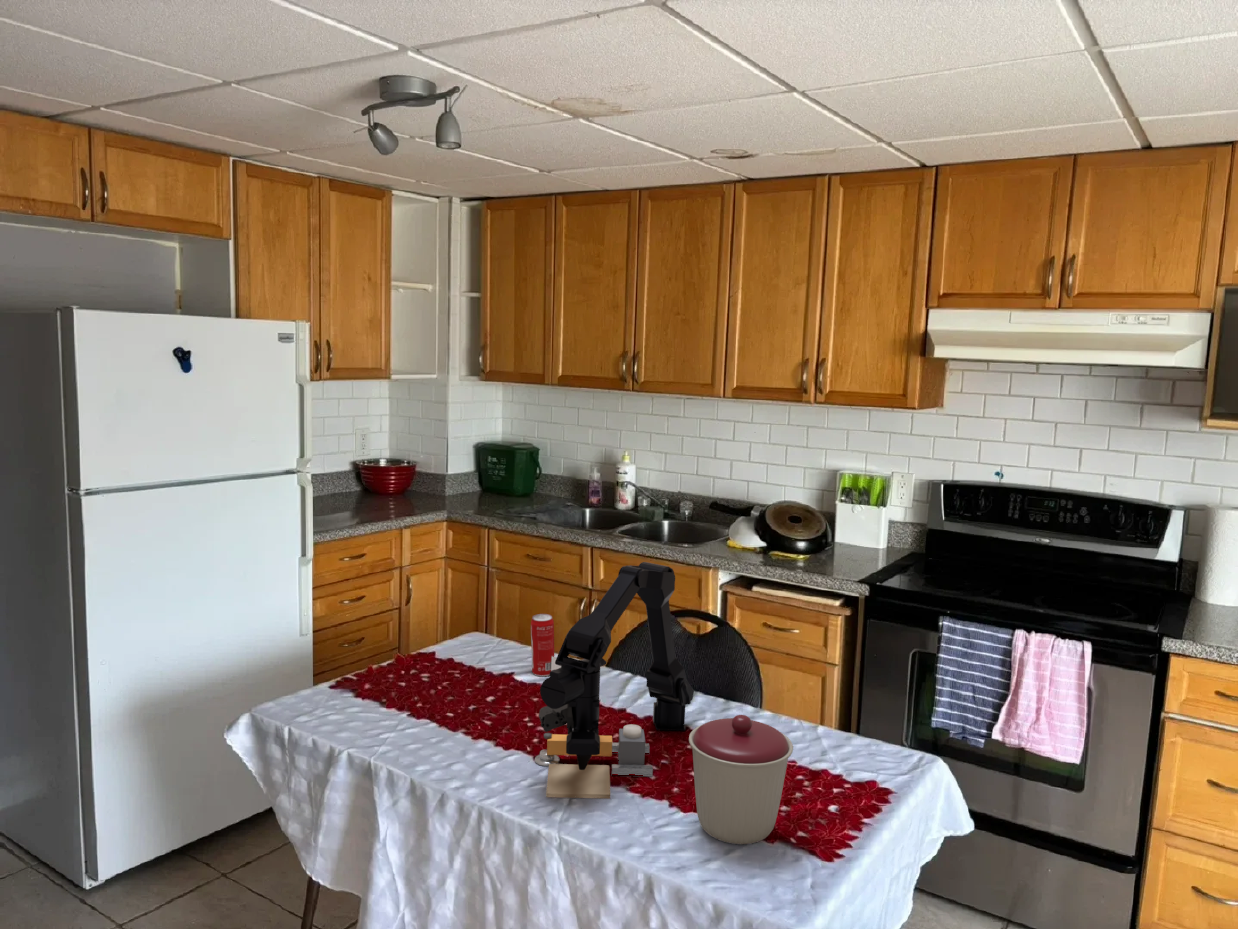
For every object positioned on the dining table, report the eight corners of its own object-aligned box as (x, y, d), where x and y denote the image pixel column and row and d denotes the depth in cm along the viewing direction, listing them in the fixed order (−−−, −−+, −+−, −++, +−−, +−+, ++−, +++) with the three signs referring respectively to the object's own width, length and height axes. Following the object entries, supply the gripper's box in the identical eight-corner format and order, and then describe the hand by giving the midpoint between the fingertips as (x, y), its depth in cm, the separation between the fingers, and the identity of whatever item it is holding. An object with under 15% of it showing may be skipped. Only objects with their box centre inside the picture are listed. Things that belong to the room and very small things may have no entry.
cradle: (648, 750, 196) (649, 742, 196) (652, 776, 185) (652, 767, 185) (536, 748, 195) (536, 739, 195) (532, 773, 184) (533, 765, 184)
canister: (669, 840, 162) (675, 724, 159) (703, 795, 178) (709, 689, 175) (772, 868, 154) (780, 747, 152) (797, 818, 171) (805, 708, 168)
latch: (611, 749, 191) (612, 733, 191) (611, 756, 188) (612, 739, 188) (543, 748, 191) (544, 731, 190) (542, 754, 188) (543, 737, 188)
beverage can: (558, 671, 240) (560, 614, 238) (545, 679, 234) (547, 621, 232) (538, 667, 242) (539, 611, 240) (525, 675, 236) (526, 617, 234)
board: (609, 769, 187) (609, 765, 187) (610, 798, 175) (610, 794, 175) (548, 767, 187) (549, 764, 187) (546, 797, 175) (546, 793, 175)
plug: (642, 757, 193) (643, 722, 192) (643, 770, 188) (645, 734, 186) (618, 756, 193) (619, 721, 192) (619, 769, 187) (620, 734, 186)
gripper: (544, 673, 188) (542, 747, 190) (539, 710, 170) (537, 791, 172) (600, 674, 189) (597, 748, 191) (601, 712, 170) (598, 793, 172)
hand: (582, 769), depth 182 cm, fingers closed
